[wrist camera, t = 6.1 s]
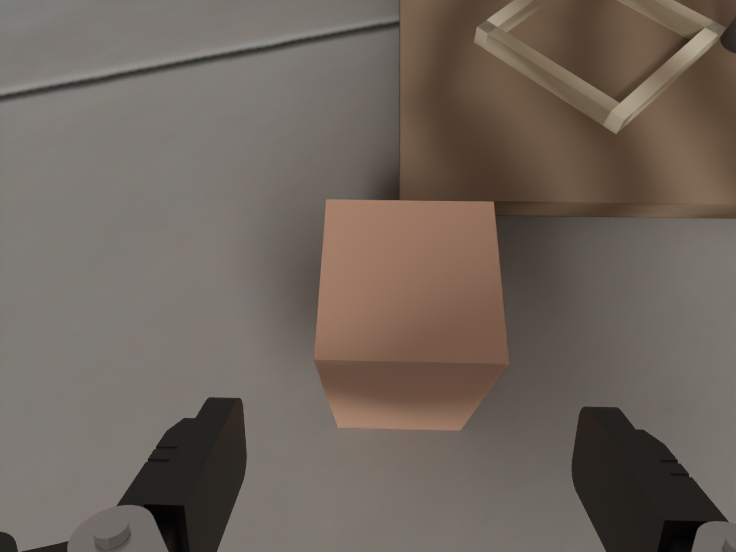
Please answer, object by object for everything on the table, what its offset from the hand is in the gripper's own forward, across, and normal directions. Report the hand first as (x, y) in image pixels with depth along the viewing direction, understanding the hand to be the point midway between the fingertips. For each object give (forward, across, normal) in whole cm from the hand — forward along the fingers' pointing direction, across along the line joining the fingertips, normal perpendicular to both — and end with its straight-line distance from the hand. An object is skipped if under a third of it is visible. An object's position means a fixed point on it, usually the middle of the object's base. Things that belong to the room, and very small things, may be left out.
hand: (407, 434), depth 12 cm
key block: (+10, 0, +3) cm, 10 cm away
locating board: (+23, -11, -10) cm, 27 cm away
